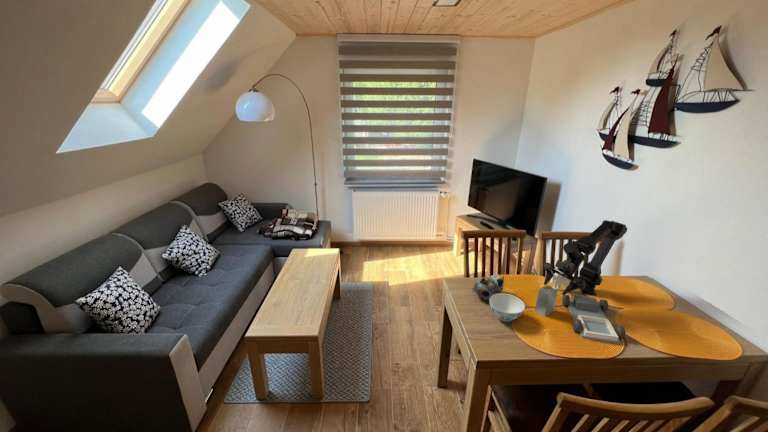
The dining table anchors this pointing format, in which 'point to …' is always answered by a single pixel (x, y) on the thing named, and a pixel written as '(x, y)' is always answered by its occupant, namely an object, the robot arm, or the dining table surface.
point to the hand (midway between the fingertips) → (553, 289)
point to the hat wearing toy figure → (558, 281)
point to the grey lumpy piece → (489, 286)
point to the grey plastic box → (546, 300)
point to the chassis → (592, 319)
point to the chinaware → (506, 306)
